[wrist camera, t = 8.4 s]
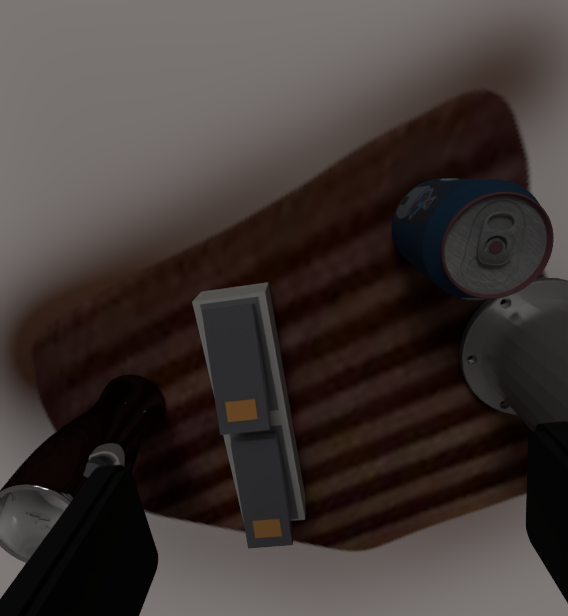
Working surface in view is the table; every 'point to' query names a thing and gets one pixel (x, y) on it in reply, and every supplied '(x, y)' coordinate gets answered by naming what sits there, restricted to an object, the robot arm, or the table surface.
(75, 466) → the beer glass
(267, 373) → the power strip
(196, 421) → the table surface
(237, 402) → the outlet rocker
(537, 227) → the soda can
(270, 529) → the outlet rocker
